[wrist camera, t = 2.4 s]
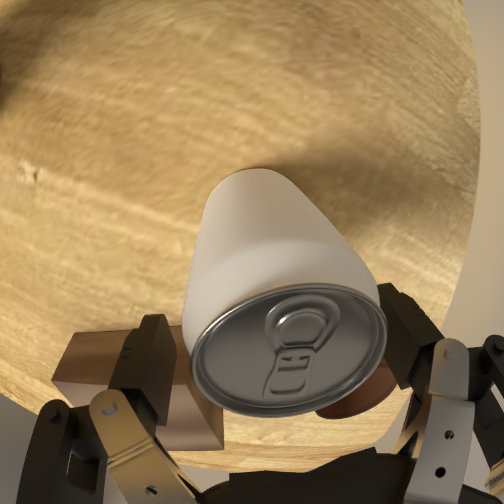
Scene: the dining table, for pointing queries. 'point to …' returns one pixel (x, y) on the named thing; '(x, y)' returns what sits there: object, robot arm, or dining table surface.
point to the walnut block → (182, 395)
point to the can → (277, 302)
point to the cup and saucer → (362, 395)
